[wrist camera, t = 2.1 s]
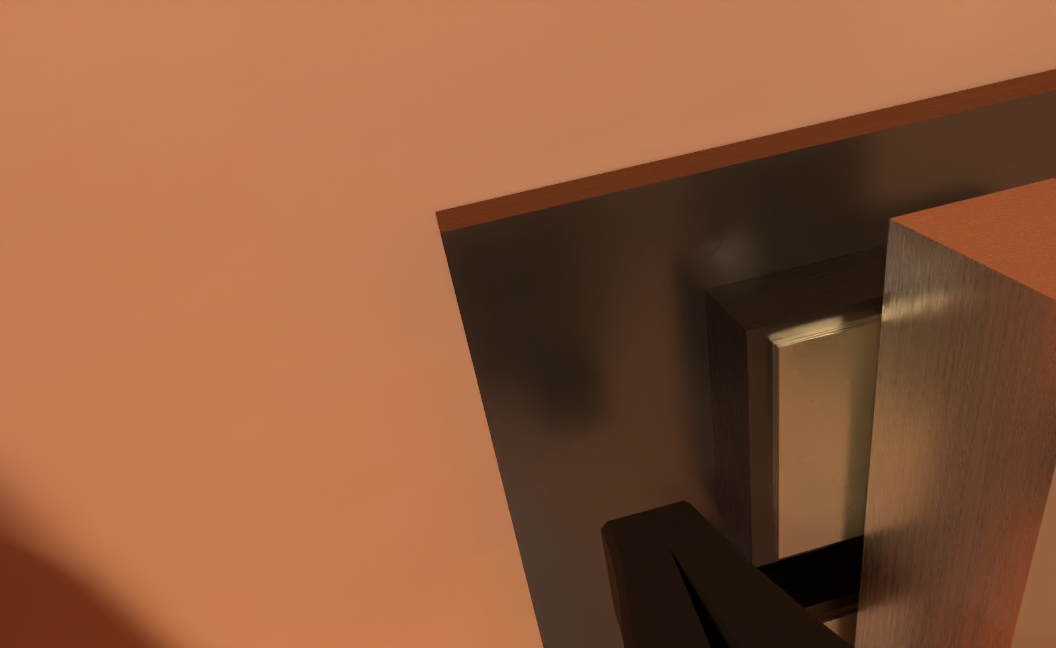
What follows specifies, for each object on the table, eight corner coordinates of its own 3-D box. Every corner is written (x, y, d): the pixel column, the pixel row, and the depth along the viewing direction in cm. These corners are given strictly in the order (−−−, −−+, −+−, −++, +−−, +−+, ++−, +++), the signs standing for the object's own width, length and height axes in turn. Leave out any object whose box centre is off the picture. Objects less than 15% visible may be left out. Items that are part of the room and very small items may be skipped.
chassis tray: (1039, 649, 20) (1126, 738, 18) (579, 791, 19) (608, 906, 17) (1211, 33, 12) (1409, 49, 10) (435, 212, 11) (450, 277, 9)
